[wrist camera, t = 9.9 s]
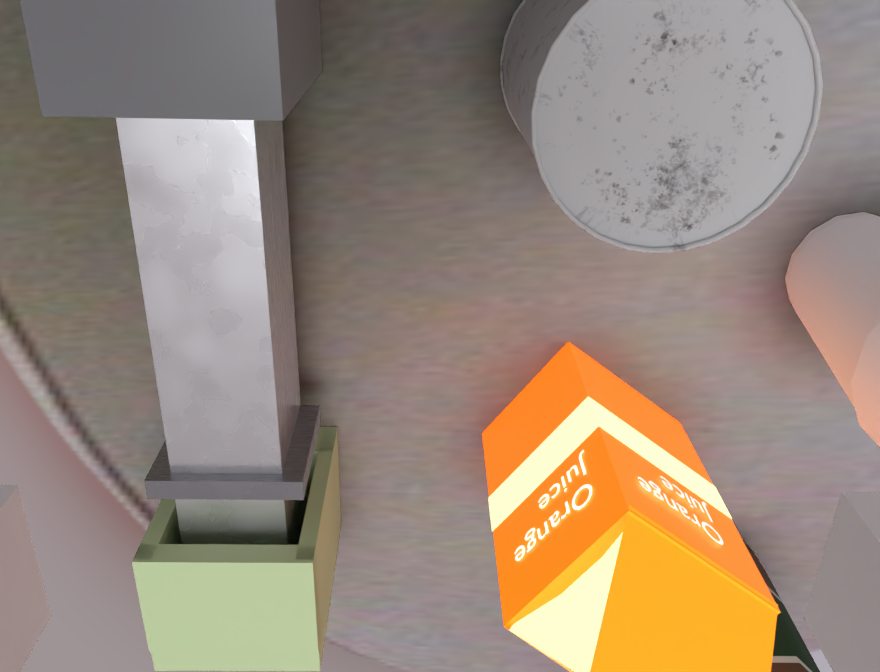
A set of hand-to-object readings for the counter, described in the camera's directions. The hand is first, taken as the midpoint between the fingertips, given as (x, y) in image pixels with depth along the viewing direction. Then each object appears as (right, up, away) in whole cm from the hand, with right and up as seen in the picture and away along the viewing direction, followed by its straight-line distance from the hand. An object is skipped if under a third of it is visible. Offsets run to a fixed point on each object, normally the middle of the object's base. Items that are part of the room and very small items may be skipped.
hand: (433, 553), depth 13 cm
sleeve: (-9, +20, +22) cm, 31 cm away
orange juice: (+8, -2, +33) cm, 34 cm away
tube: (-9, +4, +26) cm, 28 cm away
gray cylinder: (+8, +16, +24) cm, 30 cm away
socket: (-10, -5, +34) cm, 36 cm away
